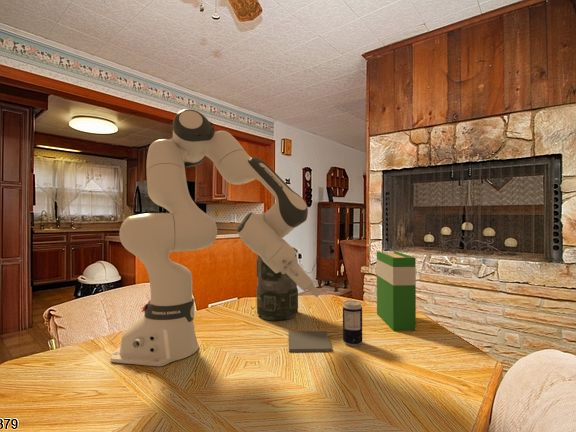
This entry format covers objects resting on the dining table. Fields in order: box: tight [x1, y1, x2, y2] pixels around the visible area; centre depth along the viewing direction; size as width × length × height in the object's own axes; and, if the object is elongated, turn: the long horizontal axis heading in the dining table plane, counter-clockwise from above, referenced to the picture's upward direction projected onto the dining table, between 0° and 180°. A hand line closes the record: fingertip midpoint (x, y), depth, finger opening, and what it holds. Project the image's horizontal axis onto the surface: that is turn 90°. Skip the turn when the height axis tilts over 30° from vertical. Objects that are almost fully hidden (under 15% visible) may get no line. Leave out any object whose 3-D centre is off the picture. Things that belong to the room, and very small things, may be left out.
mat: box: [287, 330, 333, 353], centre depth 94 cm, size 12×13×1 cm
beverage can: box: [342, 300, 363, 347], centre depth 93 cm, size 6×6×12 cm
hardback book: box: [376, 250, 417, 332], centre depth 111 cm, size 18×7×24 cm, turn 1°
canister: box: [256, 246, 299, 321], centre depth 119 cm, size 16×16×28 cm
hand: (315, 290), depth 93 cm, fingers open, 8 cm apart
